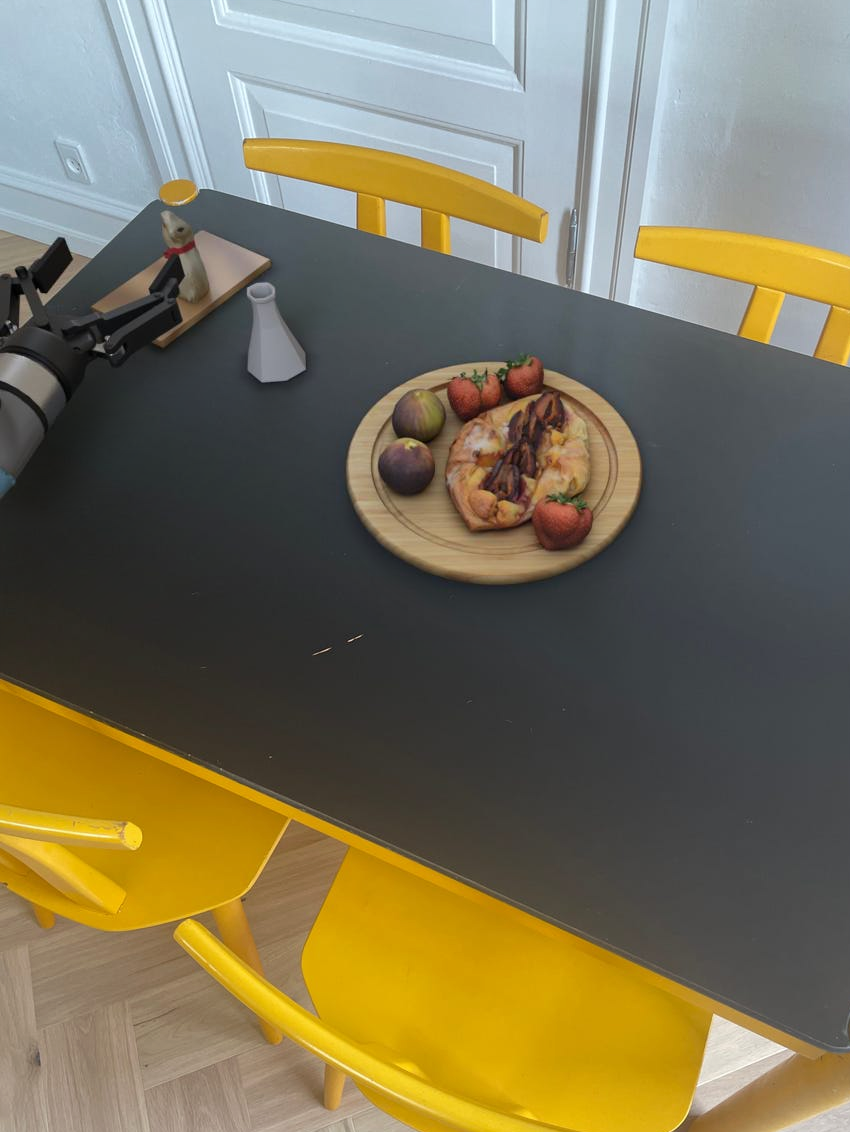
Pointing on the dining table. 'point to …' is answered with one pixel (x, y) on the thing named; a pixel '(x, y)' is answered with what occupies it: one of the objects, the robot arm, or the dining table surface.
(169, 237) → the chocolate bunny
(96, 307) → the wooden board
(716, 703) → the dining table surface
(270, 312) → the flask
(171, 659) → the dining table surface
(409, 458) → the wooden plate
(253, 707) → the dining table surface
